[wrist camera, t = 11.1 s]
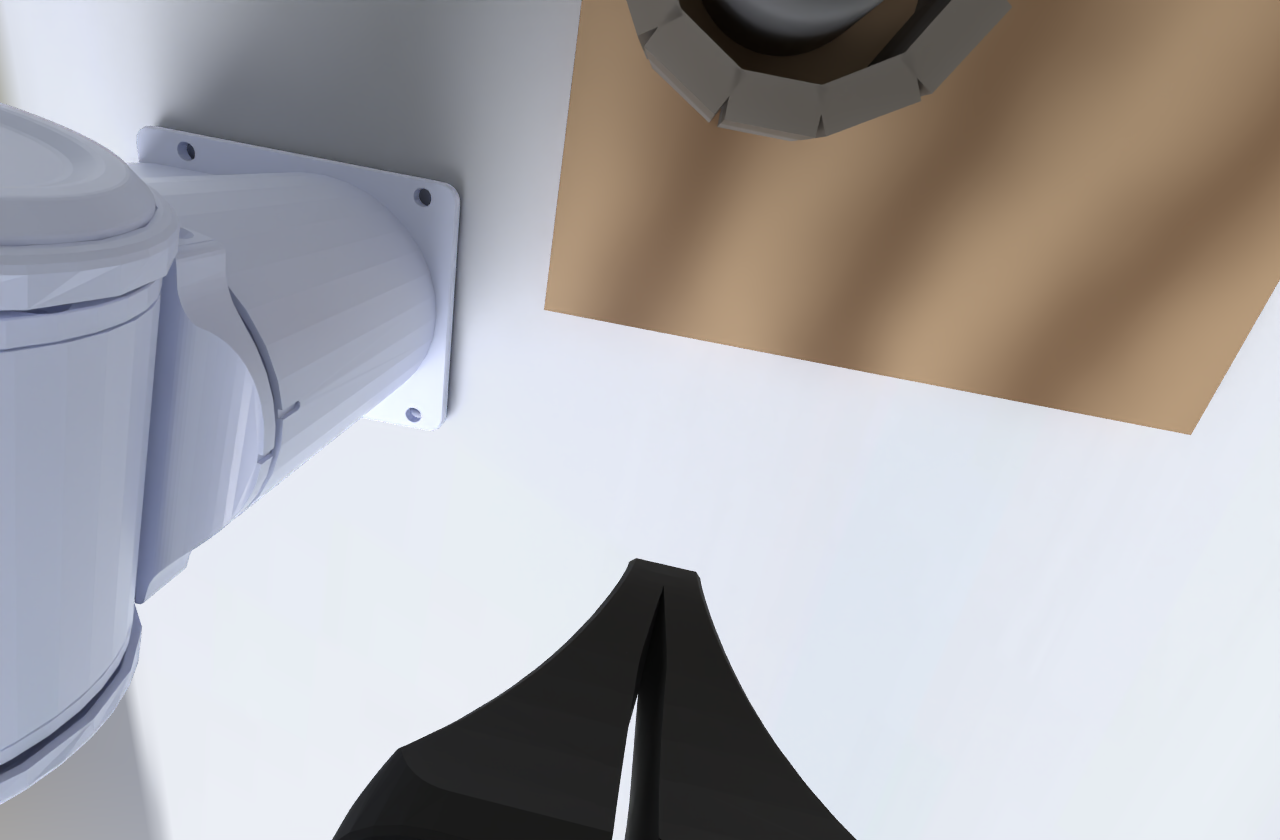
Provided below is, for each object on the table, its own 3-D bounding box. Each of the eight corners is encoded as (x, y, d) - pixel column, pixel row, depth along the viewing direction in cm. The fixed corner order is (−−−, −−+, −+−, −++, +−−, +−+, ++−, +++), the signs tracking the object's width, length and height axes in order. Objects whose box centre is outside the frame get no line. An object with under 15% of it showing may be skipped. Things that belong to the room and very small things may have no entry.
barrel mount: (550, 302, 20) (515, 340, 16) (640, -412, 14) (620, -655, 10) (1167, 422, 20) (1292, 490, 16) (1529, -233, 14) (1884, -397, 10)
